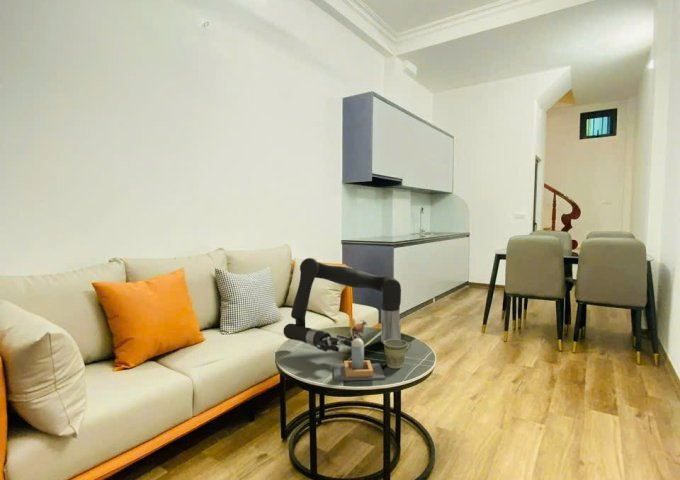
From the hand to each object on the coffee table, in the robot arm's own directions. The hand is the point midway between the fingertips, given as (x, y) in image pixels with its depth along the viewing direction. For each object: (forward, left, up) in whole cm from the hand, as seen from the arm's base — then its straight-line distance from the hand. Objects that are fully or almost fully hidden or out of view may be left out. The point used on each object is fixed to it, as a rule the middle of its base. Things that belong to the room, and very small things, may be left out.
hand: (345, 346), depth 157 cm
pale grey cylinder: (-5, +5, -8) cm, 11 cm away
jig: (-5, +5, -9) cm, 12 cm away
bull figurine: (-10, -41, -10) cm, 43 cm away
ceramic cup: (-23, -2, -9) cm, 25 cm away
